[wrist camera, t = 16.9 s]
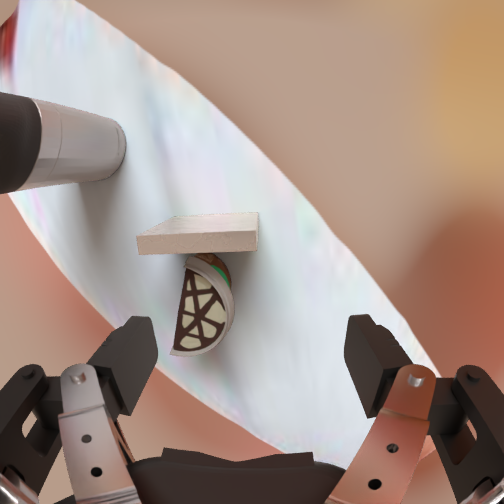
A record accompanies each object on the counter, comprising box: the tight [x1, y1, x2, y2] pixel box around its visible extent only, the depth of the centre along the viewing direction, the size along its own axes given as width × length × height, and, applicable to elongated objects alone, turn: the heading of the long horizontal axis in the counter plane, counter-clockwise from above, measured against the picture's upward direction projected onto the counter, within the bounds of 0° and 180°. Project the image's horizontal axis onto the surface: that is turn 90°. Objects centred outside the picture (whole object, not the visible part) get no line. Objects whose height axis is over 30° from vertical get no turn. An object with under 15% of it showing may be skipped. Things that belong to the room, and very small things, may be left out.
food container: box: [170, 252, 234, 357], centre depth 34 cm, size 12×6×10 cm, turn 165°
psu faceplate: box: [136, 212, 259, 255], centre depth 30 cm, size 11×2×12 cm, turn 92°
